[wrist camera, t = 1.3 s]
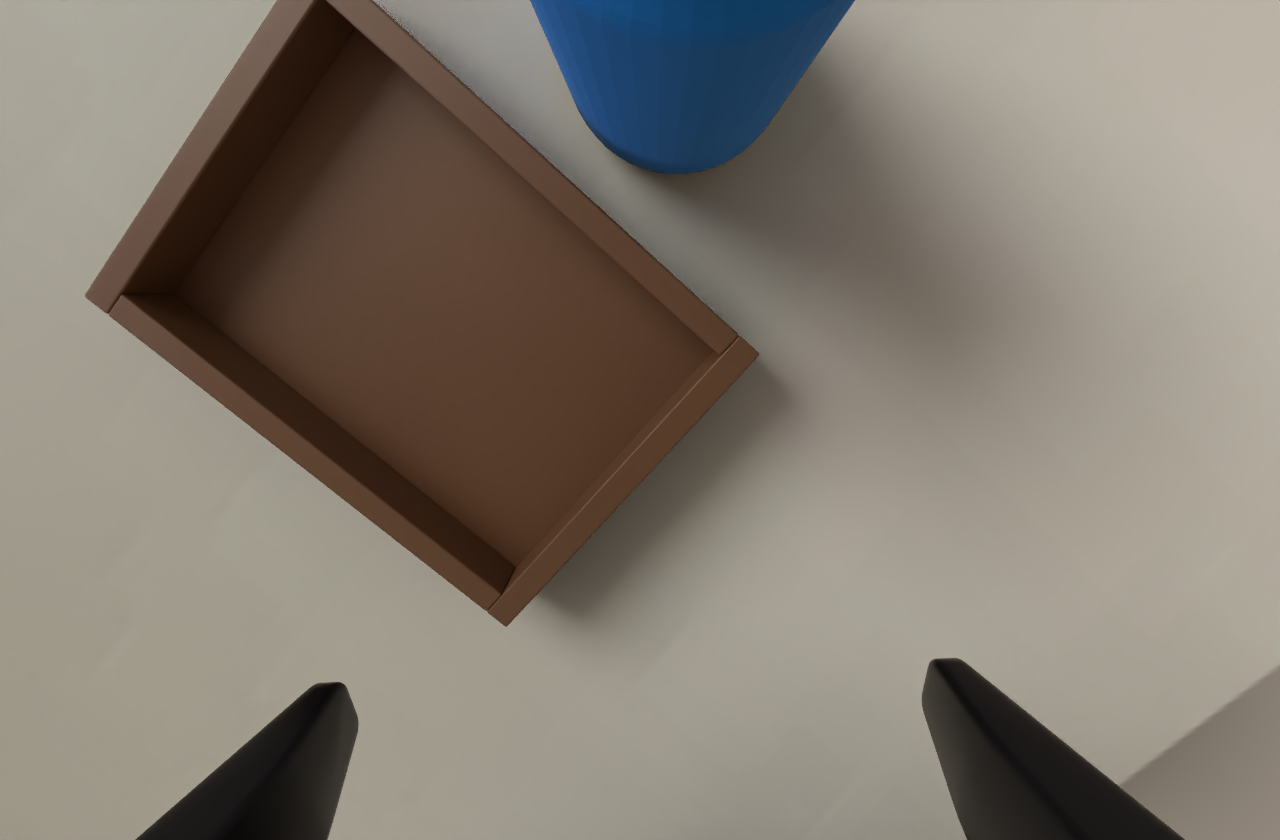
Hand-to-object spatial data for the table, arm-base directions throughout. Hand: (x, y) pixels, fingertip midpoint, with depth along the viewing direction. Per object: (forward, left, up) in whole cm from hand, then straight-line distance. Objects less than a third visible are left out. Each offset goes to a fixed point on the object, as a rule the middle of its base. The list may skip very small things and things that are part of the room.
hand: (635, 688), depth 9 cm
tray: (+8, +1, -12) cm, 14 cm away
